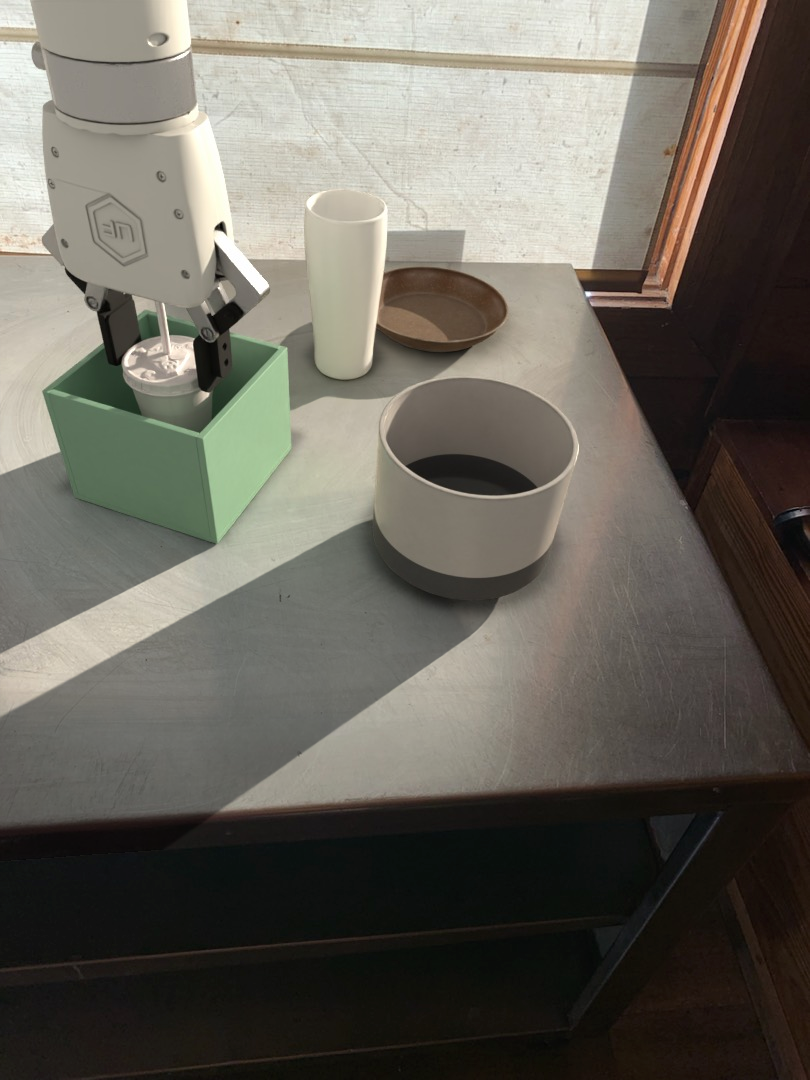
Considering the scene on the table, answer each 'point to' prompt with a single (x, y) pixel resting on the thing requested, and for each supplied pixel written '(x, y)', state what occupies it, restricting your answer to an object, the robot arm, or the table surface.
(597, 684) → the table surface
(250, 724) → the table surface
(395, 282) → the saucer
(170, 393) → the smoothie
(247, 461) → the bin
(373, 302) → the white cup
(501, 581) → the planter
